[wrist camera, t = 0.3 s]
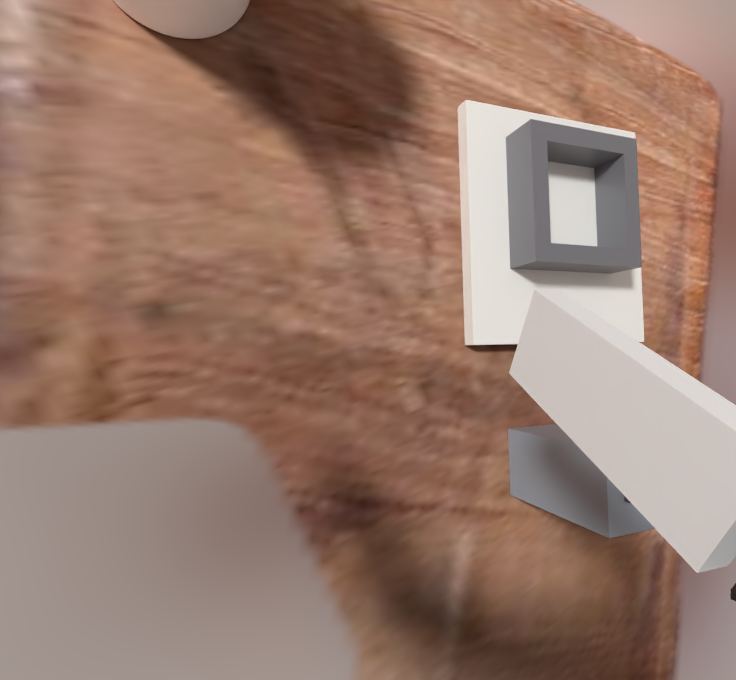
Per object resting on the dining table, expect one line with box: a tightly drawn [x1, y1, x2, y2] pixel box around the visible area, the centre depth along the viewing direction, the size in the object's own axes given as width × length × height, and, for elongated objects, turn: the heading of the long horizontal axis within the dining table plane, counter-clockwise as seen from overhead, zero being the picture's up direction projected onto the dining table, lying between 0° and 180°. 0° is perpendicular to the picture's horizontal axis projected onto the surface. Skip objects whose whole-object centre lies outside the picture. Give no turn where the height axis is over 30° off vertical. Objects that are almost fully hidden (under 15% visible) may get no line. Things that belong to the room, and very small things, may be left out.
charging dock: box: [458, 100, 644, 345], centre depth 31 cm, size 16×15×4 cm
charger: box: [508, 424, 655, 538], centre depth 28 cm, size 4×4×8 cm
